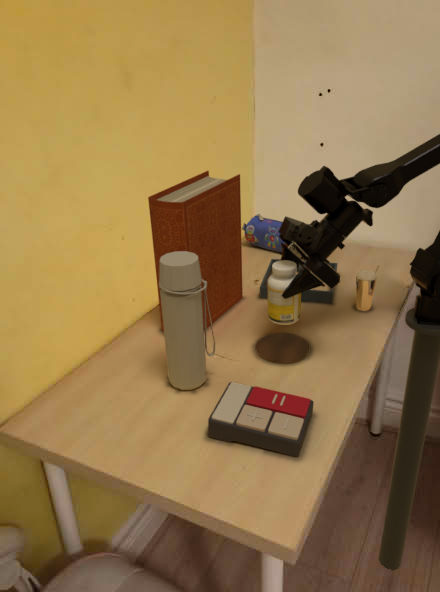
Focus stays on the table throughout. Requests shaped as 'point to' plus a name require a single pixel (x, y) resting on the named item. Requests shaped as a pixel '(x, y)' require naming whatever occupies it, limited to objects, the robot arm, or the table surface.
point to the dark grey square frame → (305, 296)
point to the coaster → (282, 348)
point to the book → (202, 235)
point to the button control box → (261, 418)
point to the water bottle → (184, 319)
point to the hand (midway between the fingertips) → (277, 289)
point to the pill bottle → (278, 306)
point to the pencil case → (263, 233)
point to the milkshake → (365, 288)
